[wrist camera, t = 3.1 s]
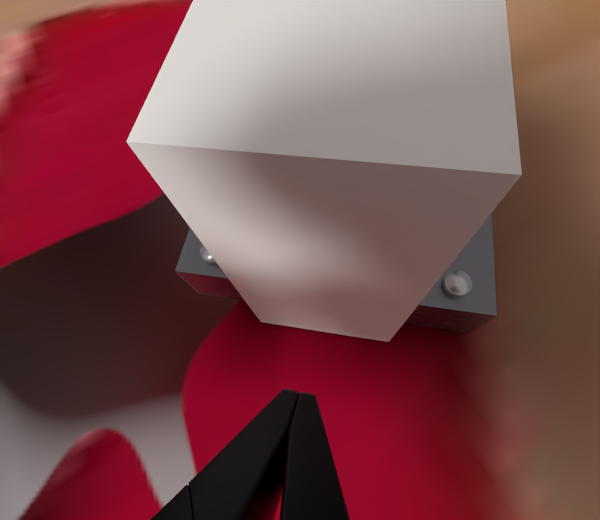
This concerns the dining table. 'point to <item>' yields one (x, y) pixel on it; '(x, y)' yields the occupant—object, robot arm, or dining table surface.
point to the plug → (334, 148)
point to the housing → (429, 313)
